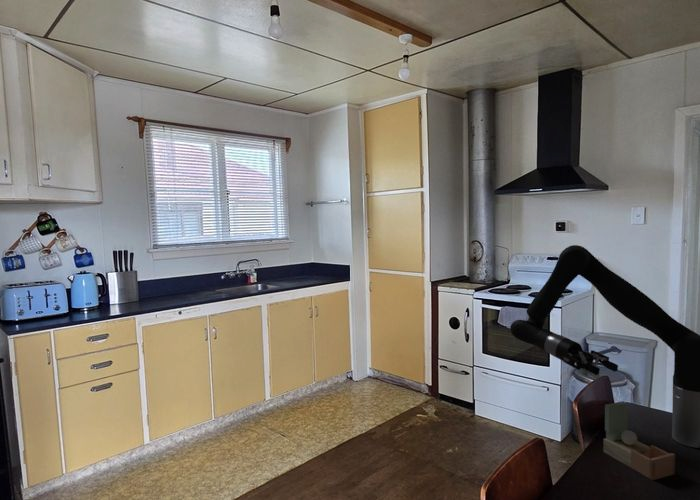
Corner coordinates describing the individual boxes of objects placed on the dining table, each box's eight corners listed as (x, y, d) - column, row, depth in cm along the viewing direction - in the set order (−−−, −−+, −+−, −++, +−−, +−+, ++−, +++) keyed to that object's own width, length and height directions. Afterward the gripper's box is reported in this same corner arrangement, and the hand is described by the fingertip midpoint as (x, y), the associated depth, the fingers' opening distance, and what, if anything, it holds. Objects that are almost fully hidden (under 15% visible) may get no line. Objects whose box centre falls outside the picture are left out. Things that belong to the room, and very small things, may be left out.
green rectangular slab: (622, 433, 132) (623, 401, 131) (630, 437, 129) (630, 404, 129) (604, 437, 130) (605, 404, 129) (612, 441, 127) (612, 408, 126)
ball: (628, 439, 128) (628, 426, 128) (640, 446, 124) (640, 432, 124) (617, 442, 127) (617, 429, 127) (629, 449, 123) (630, 435, 123)
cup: (652, 462, 123) (652, 443, 123) (674, 474, 117) (675, 454, 117) (630, 467, 121) (631, 448, 121) (652, 480, 115) (652, 460, 115)
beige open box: (624, 446, 132) (624, 434, 132) (652, 462, 123) (652, 448, 123) (603, 451, 130) (603, 438, 129) (630, 467, 121) (631, 453, 121)
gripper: (549, 339, 142) (594, 361, 128) (579, 336, 148) (625, 356, 134) (545, 360, 144) (589, 384, 129) (575, 356, 150) (620, 378, 136)
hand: (607, 370), depth 132 cm, fingers open, 8 cm apart
